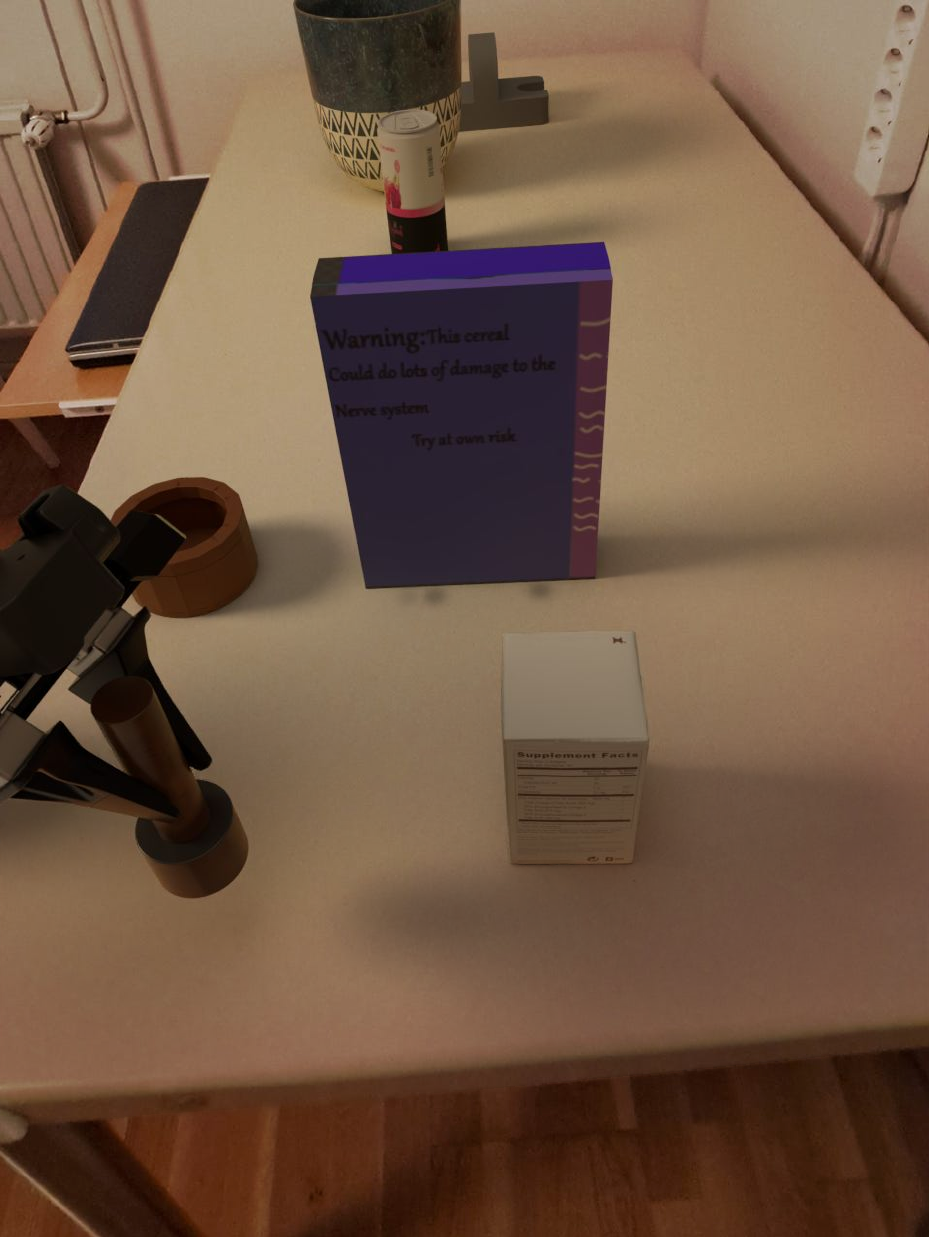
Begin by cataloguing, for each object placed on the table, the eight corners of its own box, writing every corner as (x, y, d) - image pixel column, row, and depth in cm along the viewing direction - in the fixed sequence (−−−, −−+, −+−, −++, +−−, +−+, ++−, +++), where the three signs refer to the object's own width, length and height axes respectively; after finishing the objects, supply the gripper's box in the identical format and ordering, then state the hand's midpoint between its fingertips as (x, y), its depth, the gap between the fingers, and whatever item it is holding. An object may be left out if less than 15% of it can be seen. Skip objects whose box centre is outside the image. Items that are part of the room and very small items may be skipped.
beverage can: (396, 275, 106) (380, 134, 95) (388, 250, 111) (372, 113, 100) (453, 266, 107) (443, 126, 96) (443, 242, 111) (432, 105, 100)
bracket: (549, 123, 136) (549, 39, 128) (425, 134, 136) (418, 50, 128) (541, 101, 142) (541, 19, 135) (423, 111, 142) (417, 30, 135)
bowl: (138, 633, 70) (113, 580, 66) (124, 550, 76) (101, 497, 72) (269, 595, 72) (253, 541, 68) (245, 517, 78) (229, 464, 74)
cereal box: (589, 536, 74) (604, 238, 57) (595, 578, 71) (613, 276, 53) (369, 546, 75) (318, 255, 57) (365, 588, 71) (309, 293, 54)
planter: (447, 219, 116) (433, 19, 100) (301, 210, 120) (266, 18, 104) (486, 157, 128) (478, -28, 113) (353, 152, 133) (328, -28, 117)
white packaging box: (506, 762, 60) (501, 627, 51) (624, 762, 59) (639, 625, 50) (505, 867, 55) (499, 739, 45) (634, 868, 54) (653, 738, 45)
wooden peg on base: (164, 913, 46) (69, 762, 37) (148, 835, 50) (57, 677, 40) (258, 877, 47) (189, 721, 38) (237, 803, 51) (168, 642, 41)
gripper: (-293, 692, 27) (159, 963, 32) (81, 351, 39) (364, 589, 44) (-316, 783, 34) (51, 990, 40) (2, 475, 46) (251, 665, 51)
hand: (191, 791), depth 43 cm, fingers closed on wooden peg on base, 2 cm apart
